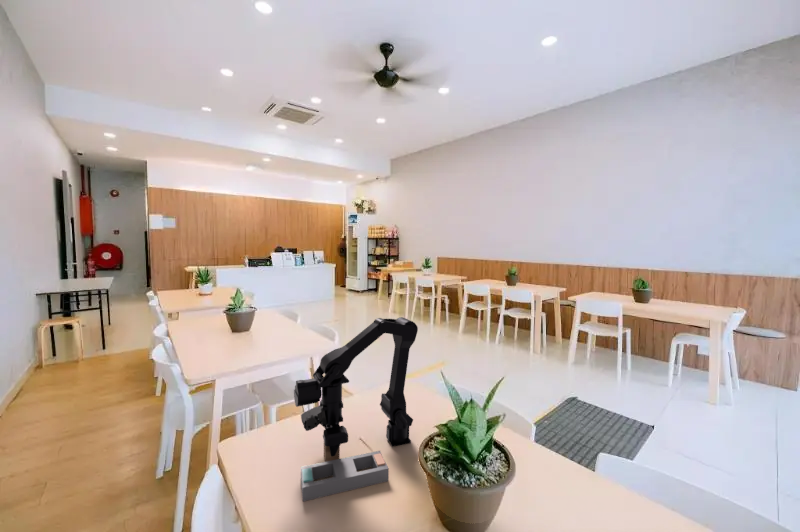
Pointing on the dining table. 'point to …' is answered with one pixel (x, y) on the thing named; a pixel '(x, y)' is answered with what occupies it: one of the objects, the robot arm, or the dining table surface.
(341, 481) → the socket strip
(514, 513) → the dining table surface
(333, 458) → the brown wooden block
